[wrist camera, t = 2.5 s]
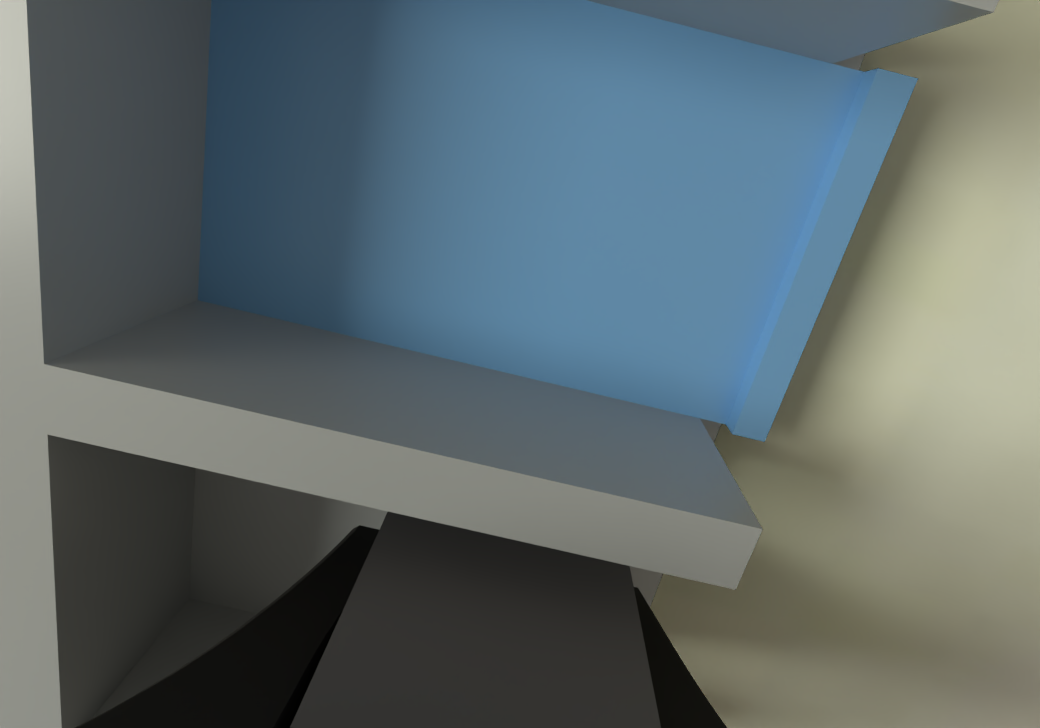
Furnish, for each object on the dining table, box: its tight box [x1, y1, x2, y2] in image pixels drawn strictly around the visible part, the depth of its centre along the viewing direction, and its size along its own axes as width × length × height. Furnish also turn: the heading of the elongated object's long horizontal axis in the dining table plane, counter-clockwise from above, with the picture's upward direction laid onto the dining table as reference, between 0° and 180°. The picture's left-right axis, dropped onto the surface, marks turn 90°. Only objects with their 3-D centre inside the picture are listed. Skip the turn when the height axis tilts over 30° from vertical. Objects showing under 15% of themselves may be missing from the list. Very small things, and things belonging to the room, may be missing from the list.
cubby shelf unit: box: [0, 0, 999, 728], centre depth 10 cm, size 15×12×4 cm
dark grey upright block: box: [290, 512, 661, 728], centre depth 9 cm, size 4×4×6 cm
